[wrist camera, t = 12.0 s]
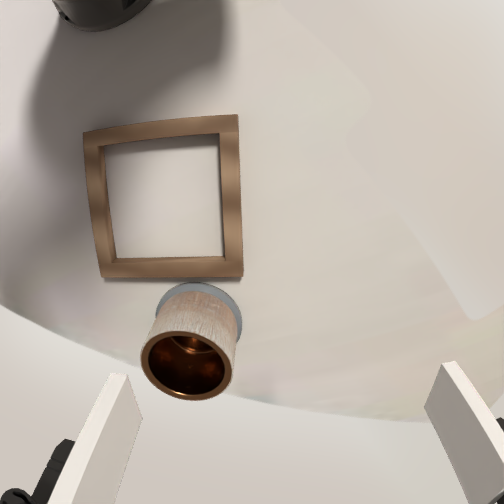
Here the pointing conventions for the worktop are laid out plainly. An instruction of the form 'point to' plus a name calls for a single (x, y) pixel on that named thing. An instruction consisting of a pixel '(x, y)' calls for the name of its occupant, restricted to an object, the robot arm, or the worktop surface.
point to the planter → (191, 347)
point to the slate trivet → (207, 289)
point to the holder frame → (230, 199)
